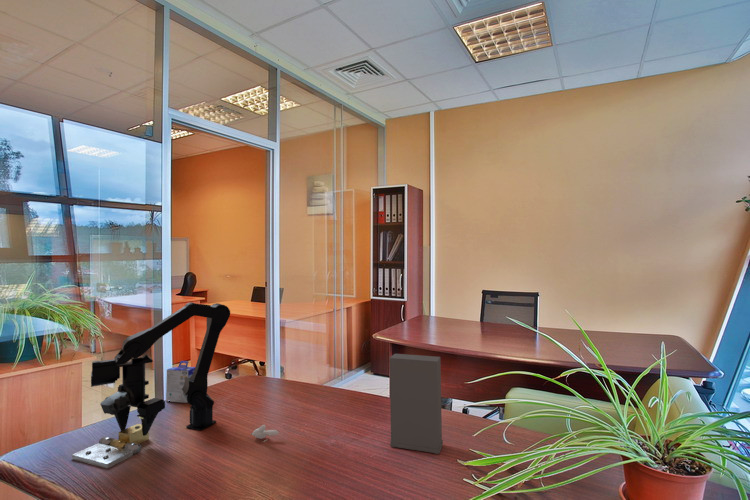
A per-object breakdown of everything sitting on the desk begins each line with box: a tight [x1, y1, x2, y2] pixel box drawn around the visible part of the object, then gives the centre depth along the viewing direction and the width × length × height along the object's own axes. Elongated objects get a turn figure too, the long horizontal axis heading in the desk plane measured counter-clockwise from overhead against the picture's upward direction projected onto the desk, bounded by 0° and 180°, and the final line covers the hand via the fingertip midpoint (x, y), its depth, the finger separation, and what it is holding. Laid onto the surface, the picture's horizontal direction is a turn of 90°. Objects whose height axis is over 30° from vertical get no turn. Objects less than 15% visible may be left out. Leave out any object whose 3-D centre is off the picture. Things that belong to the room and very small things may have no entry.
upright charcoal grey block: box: [389, 353, 444, 455], centre depth 108 cm, size 14×6×25 cm, turn 71°
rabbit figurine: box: [250, 424, 280, 443], centre depth 112 cm, size 6×4×8 cm
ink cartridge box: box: [165, 360, 196, 404], centre depth 146 cm, size 10×6×14 cm, turn 78°
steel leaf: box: [71, 436, 142, 470], centre depth 104 cm, size 14×9×2 cm
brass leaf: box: [110, 423, 150, 449], centre depth 111 cm, size 4×8×4 cm, turn 159°
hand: (133, 432), depth 112 cm, fingers open, 9 cm apart
